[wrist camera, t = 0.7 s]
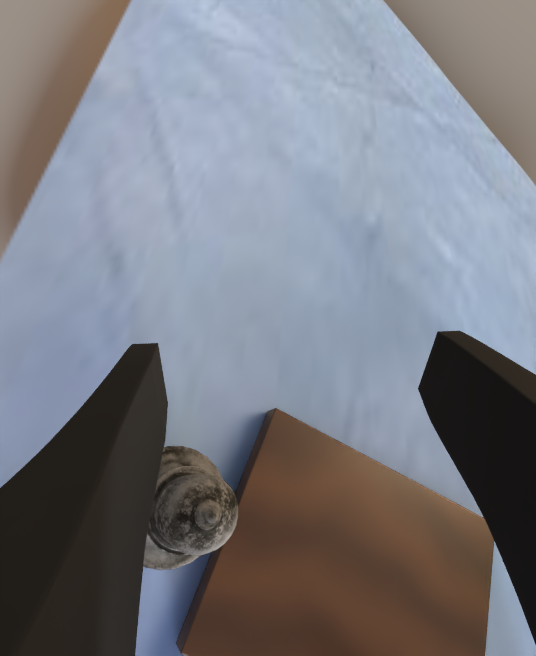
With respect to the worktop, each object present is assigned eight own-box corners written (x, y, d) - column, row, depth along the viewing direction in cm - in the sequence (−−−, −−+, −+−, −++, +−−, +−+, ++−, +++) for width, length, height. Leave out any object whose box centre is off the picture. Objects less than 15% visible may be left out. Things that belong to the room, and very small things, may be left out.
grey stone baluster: (107, 458, 23) (116, 437, 13) (205, 444, 26) (279, 418, 15) (110, 570, 21) (124, 652, 11) (215, 544, 24) (306, 591, 13)
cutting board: (457, 751, 25) (476, 765, 24) (175, 643, 21) (180, 654, 20) (479, 522, 32) (495, 523, 30) (267, 411, 28) (275, 407, 27)
